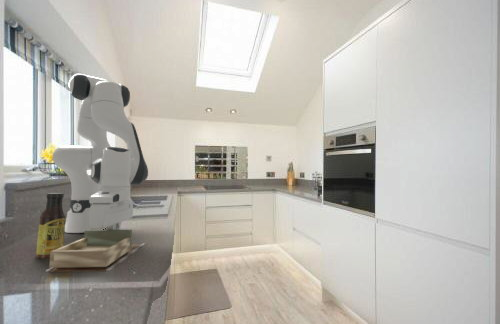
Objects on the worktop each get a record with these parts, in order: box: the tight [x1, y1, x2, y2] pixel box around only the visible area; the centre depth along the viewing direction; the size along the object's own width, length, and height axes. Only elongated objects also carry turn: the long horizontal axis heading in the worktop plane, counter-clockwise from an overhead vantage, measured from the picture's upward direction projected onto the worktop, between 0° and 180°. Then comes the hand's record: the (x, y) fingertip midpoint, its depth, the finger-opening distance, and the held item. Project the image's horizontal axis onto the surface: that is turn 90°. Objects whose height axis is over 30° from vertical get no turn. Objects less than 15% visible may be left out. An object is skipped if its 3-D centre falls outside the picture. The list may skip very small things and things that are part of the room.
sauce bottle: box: [35, 192, 66, 259], centre depth 70 cm, size 7×6×20 cm
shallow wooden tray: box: [48, 229, 133, 269], centre depth 65 cm, size 14×14×7 cm
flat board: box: [44, 242, 146, 273], centre depth 69 cm, size 23×16×1 cm
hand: (113, 237), depth 74 cm, fingers closed
